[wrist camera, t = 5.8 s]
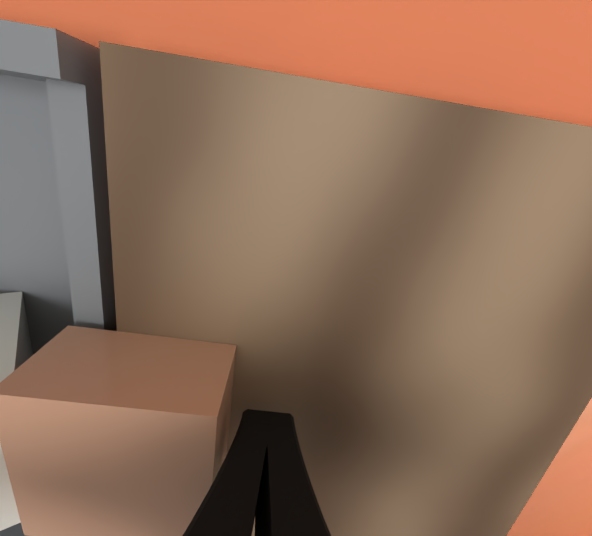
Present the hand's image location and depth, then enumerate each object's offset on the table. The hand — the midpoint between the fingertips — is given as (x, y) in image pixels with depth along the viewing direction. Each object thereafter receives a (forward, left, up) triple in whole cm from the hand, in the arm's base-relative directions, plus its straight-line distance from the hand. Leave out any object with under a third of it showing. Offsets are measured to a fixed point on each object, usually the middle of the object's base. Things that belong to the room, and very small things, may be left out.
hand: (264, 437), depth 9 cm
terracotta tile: (+3, 0, -1) cm, 3 cm away
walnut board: (-3, 0, -3) cm, 4 cm away
